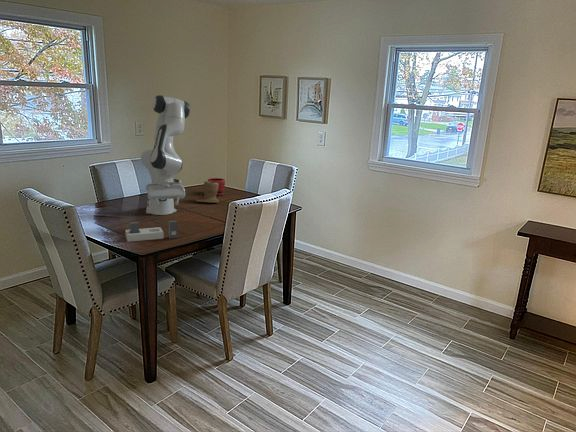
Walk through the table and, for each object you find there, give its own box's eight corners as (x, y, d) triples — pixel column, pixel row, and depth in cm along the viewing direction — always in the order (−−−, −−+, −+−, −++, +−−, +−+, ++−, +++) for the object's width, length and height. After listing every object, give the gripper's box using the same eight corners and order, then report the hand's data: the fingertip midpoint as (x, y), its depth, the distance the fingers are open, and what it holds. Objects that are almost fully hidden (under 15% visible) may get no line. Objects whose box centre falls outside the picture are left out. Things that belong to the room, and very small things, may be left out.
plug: (168, 236, 231) (168, 220, 229) (176, 236, 233) (176, 220, 231) (169, 238, 229) (169, 222, 226) (177, 238, 230) (177, 221, 228)
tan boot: (220, 200, 313) (220, 180, 309) (217, 204, 302) (218, 183, 297) (199, 199, 312) (199, 179, 308) (196, 203, 301) (196, 182, 297)
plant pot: (228, 194, 332) (228, 179, 329) (216, 197, 322) (217, 181, 318) (215, 191, 339) (215, 176, 336) (203, 194, 328) (203, 178, 325)
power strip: (123, 230, 237) (122, 215, 234) (157, 227, 245) (157, 213, 242) (127, 241, 220) (127, 225, 218) (163, 238, 228) (163, 223, 226)
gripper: (146, 181, 236) (149, 202, 230) (183, 180, 245) (187, 200, 239) (144, 187, 241) (148, 208, 235) (181, 186, 250) (185, 206, 244)
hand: (168, 204), depth 237 cm, fingers open, 8 cm apart
